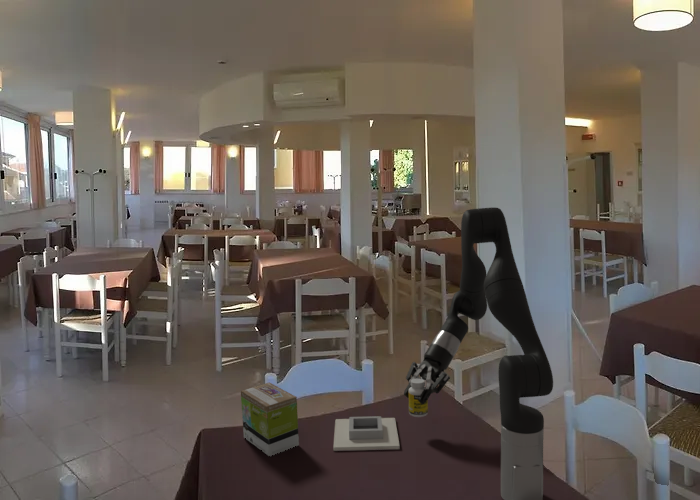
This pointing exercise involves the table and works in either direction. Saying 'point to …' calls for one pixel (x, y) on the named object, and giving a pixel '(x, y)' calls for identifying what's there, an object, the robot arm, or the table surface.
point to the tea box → (270, 418)
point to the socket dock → (365, 434)
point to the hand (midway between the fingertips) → (413, 399)
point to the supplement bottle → (414, 394)
